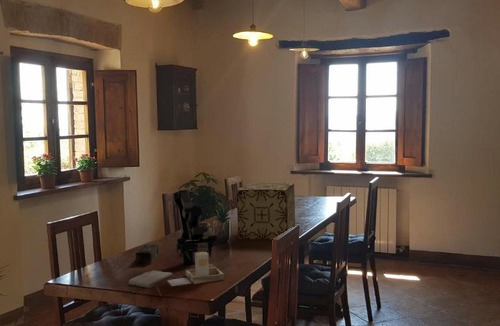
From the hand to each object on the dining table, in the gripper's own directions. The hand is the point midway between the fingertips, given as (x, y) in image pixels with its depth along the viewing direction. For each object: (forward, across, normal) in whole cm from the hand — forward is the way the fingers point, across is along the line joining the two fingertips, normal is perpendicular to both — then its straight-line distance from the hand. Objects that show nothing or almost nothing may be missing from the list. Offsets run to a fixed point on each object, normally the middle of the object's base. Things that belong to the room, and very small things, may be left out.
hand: (200, 257), depth 230 cm
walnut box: (+4, +5, +9) cm, 11 cm away
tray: (+6, +2, +8) cm, 10 cm away
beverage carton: (-25, -19, +38) cm, 49 cm away
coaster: (+8, -10, +6) cm, 14 cm away
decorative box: (-46, +59, +59) cm, 95 cm away
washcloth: (+2, -21, +13) cm, 25 cm away
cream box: (+8, 0, +5) cm, 10 cm away
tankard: (-35, +12, +48) cm, 61 cm away
